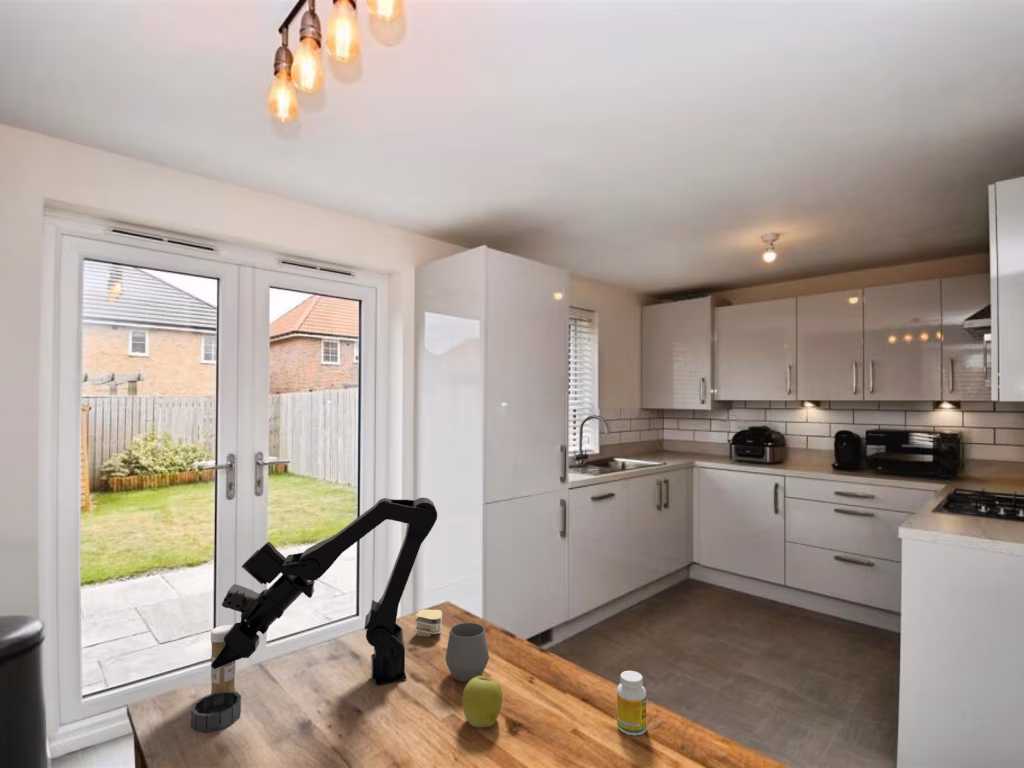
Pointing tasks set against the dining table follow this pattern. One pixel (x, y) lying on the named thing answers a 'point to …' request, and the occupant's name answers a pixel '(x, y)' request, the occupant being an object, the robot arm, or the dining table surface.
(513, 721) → the dining table surface
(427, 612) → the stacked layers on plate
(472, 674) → the cup
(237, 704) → the bottle holder
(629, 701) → the supplement bottle
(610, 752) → the dining table surface
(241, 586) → the robot arm
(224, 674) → the sprinkles bottle
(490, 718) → the apple
